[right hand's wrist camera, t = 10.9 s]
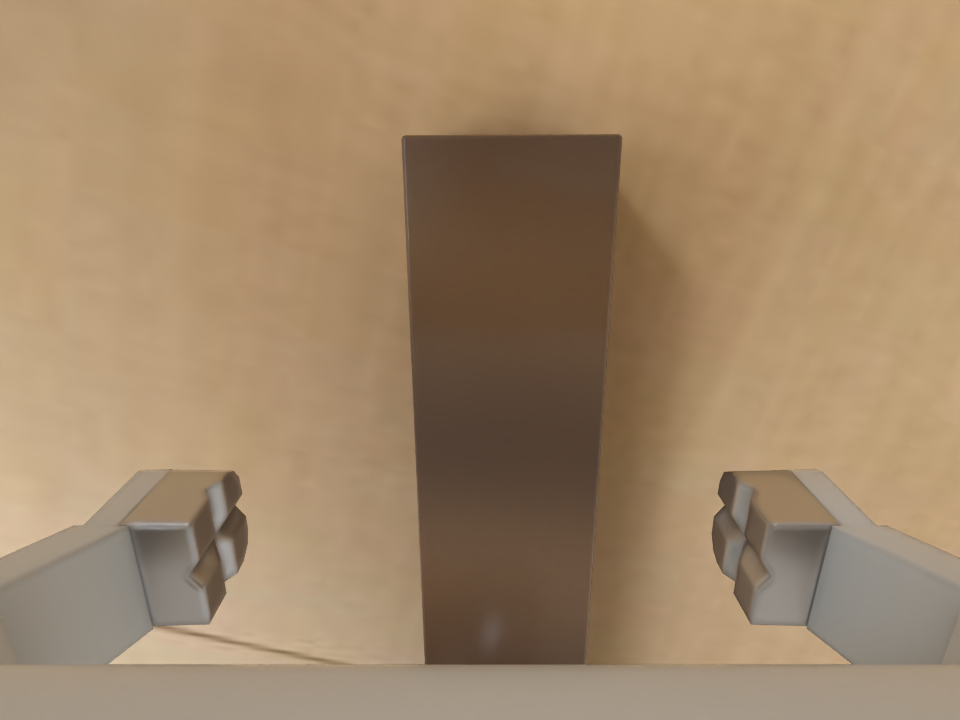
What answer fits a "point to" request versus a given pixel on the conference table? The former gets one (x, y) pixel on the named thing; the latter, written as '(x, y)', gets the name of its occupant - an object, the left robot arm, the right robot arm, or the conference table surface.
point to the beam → (508, 386)
